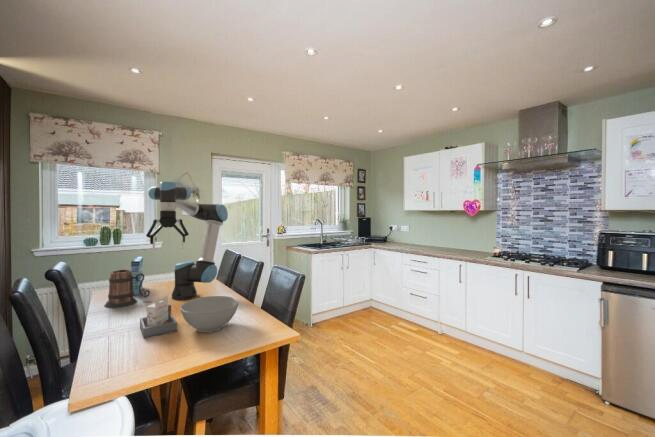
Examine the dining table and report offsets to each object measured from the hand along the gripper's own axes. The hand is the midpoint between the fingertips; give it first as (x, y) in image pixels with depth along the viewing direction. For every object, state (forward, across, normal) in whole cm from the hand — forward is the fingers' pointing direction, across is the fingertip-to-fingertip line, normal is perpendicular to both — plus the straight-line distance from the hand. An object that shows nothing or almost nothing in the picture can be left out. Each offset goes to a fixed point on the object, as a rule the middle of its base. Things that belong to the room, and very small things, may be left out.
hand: (168, 249), depth 160 cm
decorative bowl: (+37, +14, -30) cm, 49 cm away
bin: (+36, -7, -18) cm, 41 cm away
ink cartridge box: (+36, -7, -17) cm, 41 cm away
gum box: (+37, -9, +64) cm, 74 cm away
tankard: (+37, -16, +38) cm, 55 cm away
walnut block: (+37, -3, -5) cm, 37 cm away
